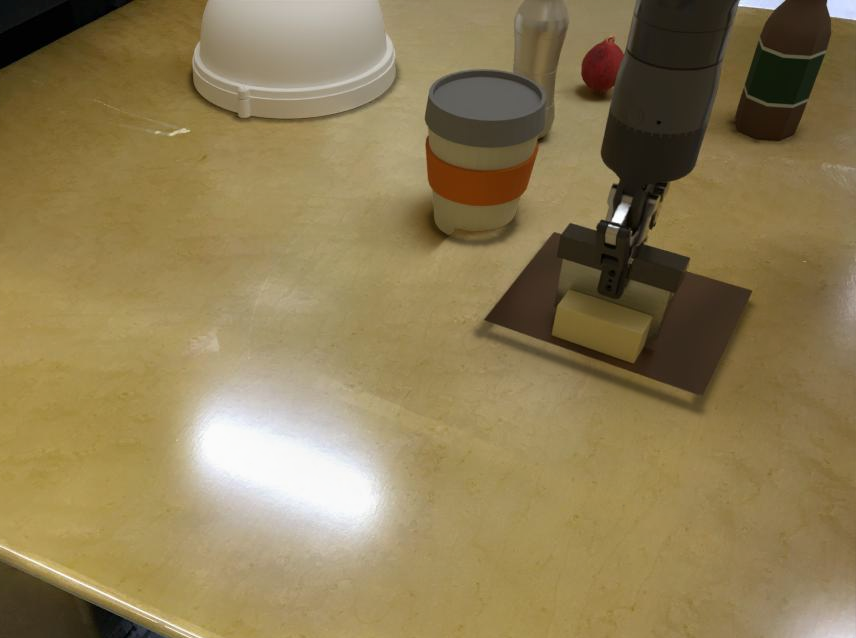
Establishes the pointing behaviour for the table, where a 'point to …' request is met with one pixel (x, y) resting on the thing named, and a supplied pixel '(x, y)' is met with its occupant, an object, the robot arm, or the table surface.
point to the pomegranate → (602, 65)
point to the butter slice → (601, 325)
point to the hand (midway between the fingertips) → (615, 285)
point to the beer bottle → (784, 69)
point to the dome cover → (292, 56)
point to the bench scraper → (645, 283)
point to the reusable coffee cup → (481, 146)
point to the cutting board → (659, 359)
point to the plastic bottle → (540, 46)
